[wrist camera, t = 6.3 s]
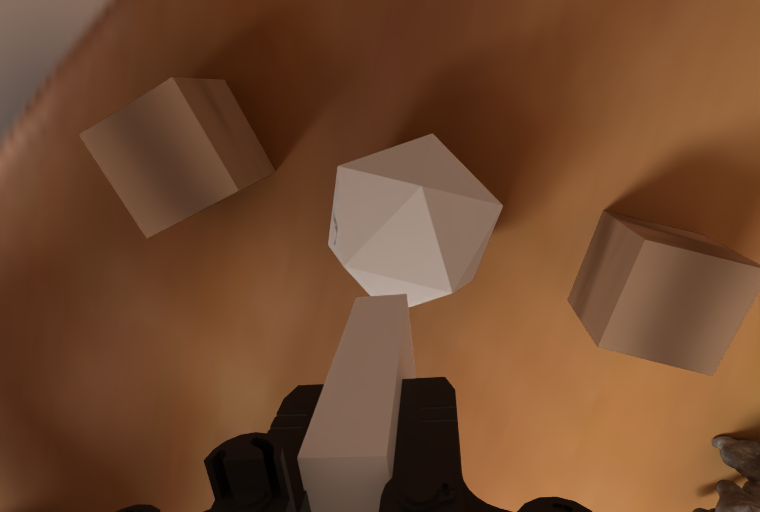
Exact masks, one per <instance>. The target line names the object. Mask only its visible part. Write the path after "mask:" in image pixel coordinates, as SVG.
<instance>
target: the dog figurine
mask: <svg viewBox="0 0 760 512" xmlns="http://www.w3.org/2000/svg"><path fill="white" fill-rule="evenodd" d="M712 446H714V447H716V448H719V449H720V455H721V458H722V460H723V462H724V463H725V464H727V465H728V466H730V467H732V468H735V469H736V470H737V471H738V472H739V473H740V474H742V475H743V476H745V477H746V478H747V479H748V480H749V481H747V482H746V483H745V484H744V486H743V487H742V489H741V487H740V486H738V485H737V484H735V483H734V482H733V481H730V480H721V481H719V482H718V484H717V487H716V488H717V491H718V493H719V496H720V499H719V501H718V503H717V505H716V508H713V509H710V510H706V509H703V508H697V509H695V510H693V512H760V442H757V441H751V440H734V439H733V438H731V437H729V436H718V437H716V438H714V439H713V441H712Z"/></svg>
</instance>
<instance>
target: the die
mask: <svg viewBox="0 0 760 512" xmlns="http://www.w3.org/2000/svg"><path fill="white" fill-rule="evenodd" d="M502 208H503V205H502V204H501V203H500V202H499V201H498V200H497V199H496V198H495V197H494V196H493V195H492V194H491V193H490V192H489V191H488V190H487V189H486V188H485V187H484V185H483V184H482V183H481V182H480V181H479V180H478V179H477V178H476V177H475V176H474V175H473V174H472V173H471V172H470V171H469V170H468V169H467V168H466V167H465V166H464V165H463V164H462V163H461V162H460V161H459V160H458V159H457V158H456V157H455V156H454V155H453V154H452V153H451V152H450V151H449V150H448V149H447V148H446V147H445V146H444V145H443V143H442V142H441V141H440V140H439V139H438V138H437V137H436V136H435V135H434V134H433V133H432V134H429V135H426V136H423V137H421V138H418V139H415V140H412V141H409V142H406V143H403V144H400V145H397V146H394V147H391V148H388V149H386V150H383V151H380V152H377V153H374V154H371V155H368V156H365V157H362V158H359V159H356V160H353V161H351V162H348V163H345V164H342V165H339V166H338V168H337V176H336V184H335V192H334V200H333V208H332V217H331V225H330V233H329V241H328V246H329V247H330V248H331V250H332V251H333V252H334V254H335V255H336V257H337V258H338V259H339V261H340V262H341V264H342V265H343V266H344V268H345V269H346V270H347V271H348V272H349V273H350V274H351V275H352V276H353V277H354V278H355V280H356V281H357V282H358V283H359V284H360V285H361V286H362V287H363V288H364V289H365V290H366V291H367V293H368V294H369V295H370V296H383V295H396V294H407V300H408V308H409V307H412V306H415V305H418V304H421V303H424V302H427V301H430V300H433V299H436V298H439V297H442V296H446V295H449V294H452V293H454V292H455V291H457V290H458V289H460V288H461V287H463V286H464V285H466V284H468V283H469V282H471V281H472V280H473V278H474V276H475V273H476V271H477V268H478V266H479V263H480V261H481V259H482V256H483V254H484V251H485V249H486V247H487V244H488V242H489V239H490V237H491V234H492V232H493V230H494V227H495V225H496V222H497V220H498V217H499V215H500V213H501V210H502Z"/></svg>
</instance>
